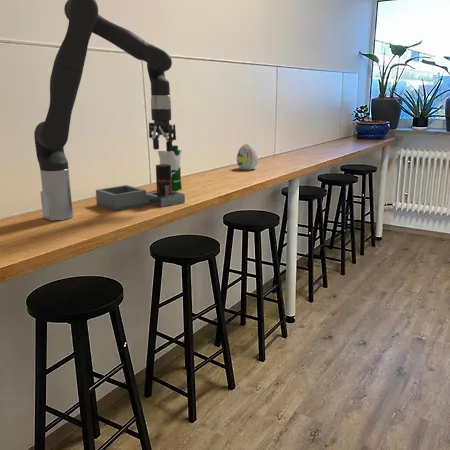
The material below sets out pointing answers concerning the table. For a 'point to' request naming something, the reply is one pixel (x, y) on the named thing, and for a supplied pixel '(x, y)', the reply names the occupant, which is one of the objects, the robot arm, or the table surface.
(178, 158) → the milk carton
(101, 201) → the bin
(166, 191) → the deodorant
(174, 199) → the socket collar
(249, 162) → the decorative egg
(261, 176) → the table surface
